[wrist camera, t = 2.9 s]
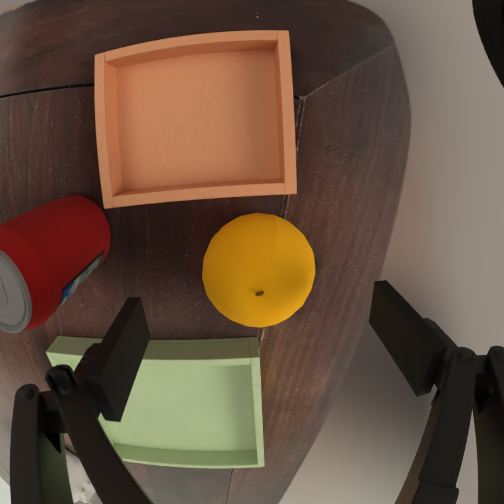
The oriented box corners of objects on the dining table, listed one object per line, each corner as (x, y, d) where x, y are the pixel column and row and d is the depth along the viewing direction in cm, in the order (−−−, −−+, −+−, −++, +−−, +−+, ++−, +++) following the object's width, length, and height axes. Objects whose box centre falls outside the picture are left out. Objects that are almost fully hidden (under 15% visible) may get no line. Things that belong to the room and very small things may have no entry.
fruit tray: (257, 336, 28) (259, 357, 25) (262, 448, 34) (264, 466, 32) (57, 335, 27) (45, 351, 24) (112, 442, 34) (107, 458, 31)
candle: (103, 481, 39) (37, 443, 38) (103, 459, 35) (28, 414, 34) (87, 516, 30) (17, 473, 29) (82, 500, 27) (2, 448, 26)
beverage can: (59, 267, 25) (-16, 337, 13) (46, 197, 22) (-49, 239, 11) (120, 266, 25) (54, 349, 13) (109, 188, 22) (17, 230, 11)
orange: (267, 311, 27) (277, 367, 20) (189, 267, 25) (171, 315, 18) (323, 239, 25) (354, 277, 18) (242, 185, 23) (243, 204, 16)
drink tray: (282, 43, 19) (288, 30, 16) (289, 187, 23) (296, 194, 20) (110, 63, 19) (94, 54, 16) (119, 200, 23) (104, 208, 20)
